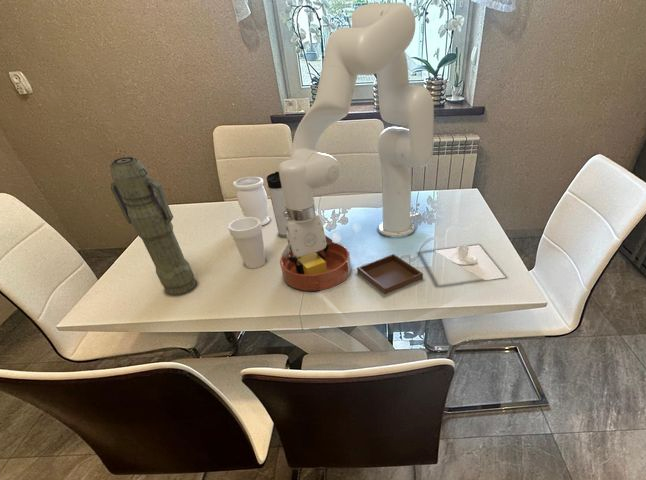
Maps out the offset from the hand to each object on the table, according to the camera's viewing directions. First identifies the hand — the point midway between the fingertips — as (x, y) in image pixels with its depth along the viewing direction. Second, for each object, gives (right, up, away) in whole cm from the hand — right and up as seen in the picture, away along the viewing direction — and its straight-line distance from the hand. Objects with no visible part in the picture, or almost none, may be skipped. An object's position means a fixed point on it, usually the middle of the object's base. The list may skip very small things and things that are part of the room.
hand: (311, 270), depth 112 cm
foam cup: (-19, +4, +8) cm, 21 cm away
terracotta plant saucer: (+2, -1, +2) cm, 2 cm away
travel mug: (-12, +18, +23) cm, 32 cm away
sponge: (0, -1, +1) cm, 1 cm away
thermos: (-38, -5, 0) cm, 39 cm away
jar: (-25, +25, +31) cm, 47 cm away
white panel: (+44, +2, +2) cm, 45 cm away
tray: (+23, -2, -2) cm, 23 cm away
